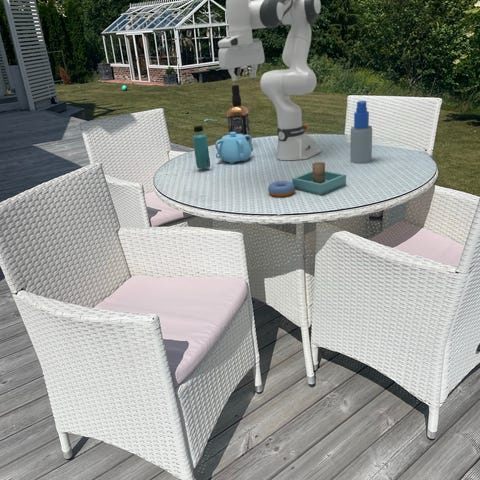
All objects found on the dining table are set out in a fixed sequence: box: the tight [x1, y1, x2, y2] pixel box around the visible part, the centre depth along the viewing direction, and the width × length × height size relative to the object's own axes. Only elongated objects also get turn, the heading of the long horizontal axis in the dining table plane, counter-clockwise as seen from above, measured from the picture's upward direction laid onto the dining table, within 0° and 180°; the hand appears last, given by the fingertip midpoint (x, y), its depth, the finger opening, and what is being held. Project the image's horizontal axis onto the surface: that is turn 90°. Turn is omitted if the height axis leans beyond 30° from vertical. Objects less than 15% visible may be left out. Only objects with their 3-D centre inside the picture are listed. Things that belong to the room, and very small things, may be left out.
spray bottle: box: [349, 100, 373, 165], centre depth 190 cm, size 9×9×25 cm
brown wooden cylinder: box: [312, 161, 326, 184], centre depth 166 cm, size 4×4×8 cm
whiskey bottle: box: [226, 84, 253, 147], centre depth 232 cm, size 10×10×32 cm
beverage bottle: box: [192, 125, 211, 170], centre depth 202 cm, size 6×7×20 cm
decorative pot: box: [214, 132, 254, 165], centre depth 214 cm, size 16×16×14 cm
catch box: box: [291, 170, 347, 196], centre depth 168 cm, size 14×14×4 cm
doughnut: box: [267, 180, 296, 198], centre depth 166 cm, size 10×10×5 cm
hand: (244, 79), depth 172 cm, fingers open, 8 cm apart
